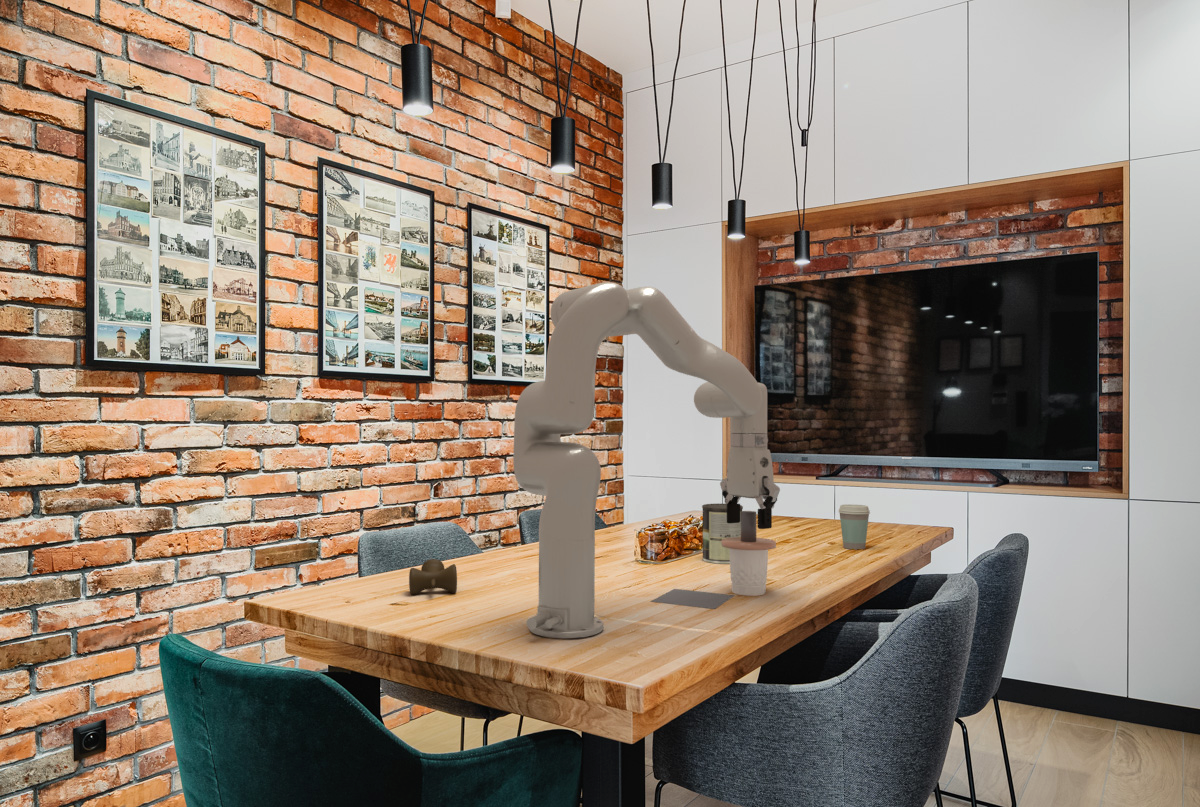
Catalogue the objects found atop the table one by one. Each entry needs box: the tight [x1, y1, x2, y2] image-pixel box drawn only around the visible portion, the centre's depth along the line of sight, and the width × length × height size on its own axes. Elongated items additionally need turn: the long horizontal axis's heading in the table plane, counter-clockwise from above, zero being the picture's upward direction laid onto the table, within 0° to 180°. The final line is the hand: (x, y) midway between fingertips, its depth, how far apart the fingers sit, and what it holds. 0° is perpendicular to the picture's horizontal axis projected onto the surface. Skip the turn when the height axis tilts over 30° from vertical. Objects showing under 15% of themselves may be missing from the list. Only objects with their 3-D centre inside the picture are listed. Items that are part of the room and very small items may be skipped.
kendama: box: [408, 558, 458, 596], centre depth 163 cm, size 6×10×20 cm
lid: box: [721, 510, 777, 551], centre depth 160 cm, size 11×11×7 cm
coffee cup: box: [838, 504, 871, 551], centre depth 221 cm, size 8×8×12 cm
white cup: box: [729, 548, 769, 597], centre depth 160 cm, size 8×8×10 cm
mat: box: [649, 588, 736, 610], centre depth 153 cm, size 13×13×1 cm
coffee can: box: [701, 503, 744, 565], centre depth 200 cm, size 10×10×14 cm
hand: (748, 525), depth 160 cm, fingers open, 9 cm apart
